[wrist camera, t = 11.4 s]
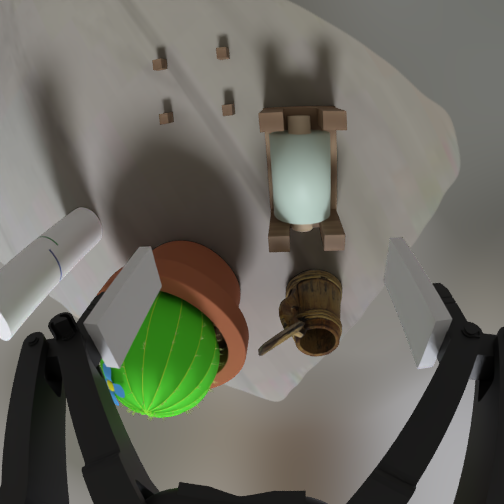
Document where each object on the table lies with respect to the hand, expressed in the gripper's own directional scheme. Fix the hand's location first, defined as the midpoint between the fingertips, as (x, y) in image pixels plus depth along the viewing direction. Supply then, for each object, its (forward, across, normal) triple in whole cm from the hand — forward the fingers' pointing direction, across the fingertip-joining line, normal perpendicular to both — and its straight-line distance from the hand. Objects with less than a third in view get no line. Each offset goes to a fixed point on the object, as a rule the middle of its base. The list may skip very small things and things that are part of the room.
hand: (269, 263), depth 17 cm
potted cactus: (+27, -16, -20) cm, 37 cm away
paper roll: (+26, +3, -1) cm, 26 cm away
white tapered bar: (+27, -33, -8) cm, 43 cm away
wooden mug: (+27, +3, -20) cm, 34 cm away
